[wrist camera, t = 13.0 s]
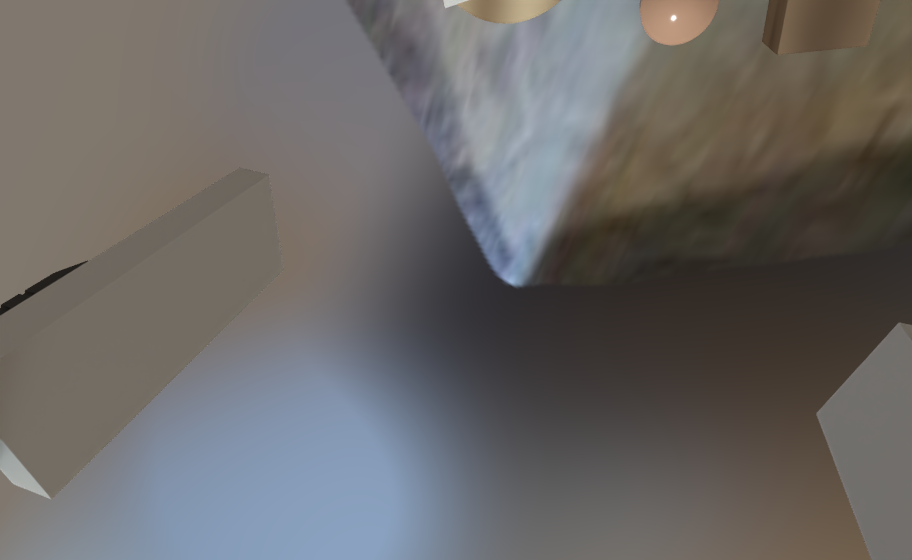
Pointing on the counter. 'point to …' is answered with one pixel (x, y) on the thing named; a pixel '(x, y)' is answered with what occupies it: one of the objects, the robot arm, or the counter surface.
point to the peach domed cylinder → (676, 19)
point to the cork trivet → (507, 9)
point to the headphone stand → (452, 2)
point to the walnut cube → (818, 24)
